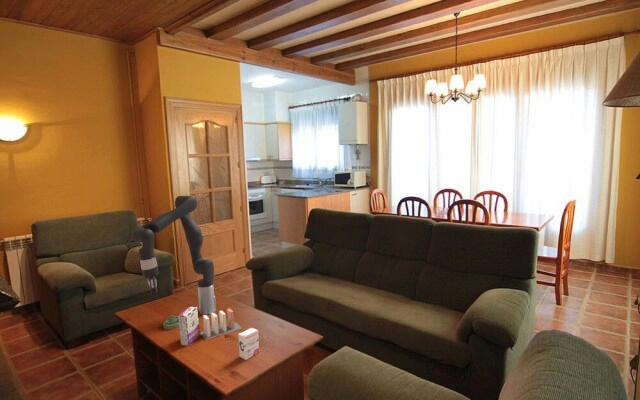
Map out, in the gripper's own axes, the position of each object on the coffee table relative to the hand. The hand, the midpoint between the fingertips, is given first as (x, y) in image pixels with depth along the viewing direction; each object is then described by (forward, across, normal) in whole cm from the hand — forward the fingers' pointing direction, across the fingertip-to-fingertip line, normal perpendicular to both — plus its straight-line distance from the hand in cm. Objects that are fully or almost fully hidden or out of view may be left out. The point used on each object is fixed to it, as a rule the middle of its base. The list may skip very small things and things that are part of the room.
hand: (155, 297), depth 190 cm
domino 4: (+26, -5, -35) cm, 44 cm away
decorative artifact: (+25, +14, -5) cm, 29 cm away
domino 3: (+26, -6, -30) cm, 40 cm away
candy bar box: (+25, -9, -13) cm, 29 cm away
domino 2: (+25, -6, -26) cm, 37 cm away
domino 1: (+25, -7, -22) cm, 34 cm away
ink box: (+27, -37, -37) cm, 59 cm away
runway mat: (+26, -6, -29) cm, 39 cm away
